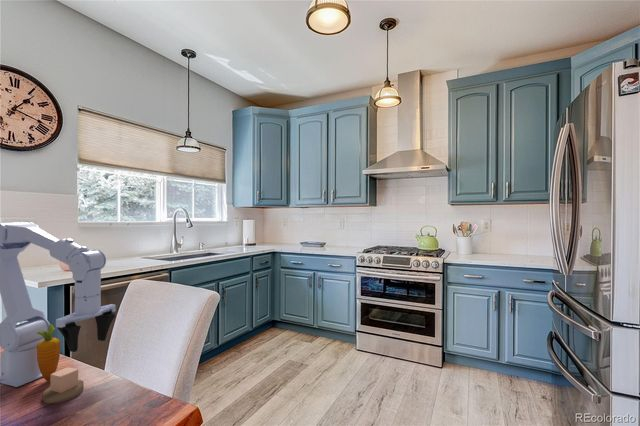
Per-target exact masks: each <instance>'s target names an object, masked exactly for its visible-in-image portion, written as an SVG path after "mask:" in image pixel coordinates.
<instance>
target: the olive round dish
mask: <svg viewBox="0 0 640 426" xmlns="http://www.w3.org/2000/svg"><path fill="white" fill-rule="evenodd" d="M84 384H85V383H84V380H82V379H78V385H77V386H75V387H73V388H71V389H69V390H67V391H64V392H62V393H59V392H55V391H52V390H51V385H50V386H48V387H47V388H45V390H43V392H42V401H43V403H45V404H57V403H62V402H66V401H69V400H71V399H73V398H75V397H77V396H79V395H80V394H82V392H83V391H84Z"/></svg>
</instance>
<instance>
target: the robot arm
mask: <svg viewBox="0 0 640 426" xmlns="http://www.w3.org/2000/svg"><path fill="white" fill-rule="evenodd" d="M39 225H40V224H36V223H34V222H32V221H7V222H6V221H3V222H2V221H1V222H0V297H1V301H2V305H3V307H4V310H5V311H4V312H5V313H6V317H4V319H3V320H2V321H1V322H0V347H1V349H2V350H3V351H2V353H1V354H0V384H4V385H7V386H12V387H13V388H14V387H15V388H18V387H21V386H22V385H25V384H27V383H30V382H33V381H35V380H37V379H40V378H44V377H43V376H42V374H41V372H40V369H39V366H38V361H37V344H38V343H39V342H40V341H42V340H44V337H43V336H42V335H40V334H37V332H38V331H40V332H43V331H44V330H46V332H47V334H48V332H49V325H51V323H50V322H49V320H48V319H47V318H46V316H45V314H44V312H43V311H41V310H39V309H36V308H34V307H33V304H32V301H31V298H30V295H29V292H28V289H27V285H26V282H25V278H24V275H23V271H22V269H21V265H20V263H19V259H18V256H19V254H20V253H21V252H22V253H23V252H24V251H25V249H27V248H28V247H29V246H30V245H31V244H33V245H35V246H38V247H40V248H42V249H45V250H47V251H49V255H50V257H51V258H54V259H55V260H57V261H59V262H61V263H63V264H65V265H67V266H68V268H69V270H70V272H71V273H72V279H73V281H74V312H72V313H70V314H68V315H65V316H63V317H60V318H56V319H55V327H56V328H57V329H58V331H59V332H60V333H61V335H62V337H63V338H64V340H65V343H66V345H67V349H68V351H69V352H70V353H71V352H72V353H75V352H78V348H79V335H80V334H79V333H80V330H81V327H82V326H81V325H77V323H78V322H82V321H86V320H89V319H93V318H94V319H95V323H96V328H97V329H96V330H97V332H96V333H97V335H96V336H97V340H98V341H101V342H104V341H106V339H107V335H108V333H109V332H108V331H109V329H110V327H111V324H112V323H113V320H114V319H115V318H116V314H115V313H114V312H116V311H117V310H116V309H117V308H116V304H113V303H111V304H106V305H102V302H101V301H102V300H101V299H102V297H101V296H102V295H101V294H102V293H101V292H102V291H101V289H102V287H101V286H102V277H101V276H102V275H101V272H102V271H101V270H102V269H104V267H105V266H106V264H107V263H106V262H107V258H106V255H105V254H104V253H103V251H101V250H100V249H92V250H90V249H88V247H87V246H85V245H83V246H82V245H80V244H78V243H76V242H74V241H75V240H74V239H72V238H61V239H58V238H57V237H55V236H53V235H52V234H50V233H49V232H46V231H45V230H44V229H41V228H40V226H39ZM101 305H102V306H101ZM18 323H19V324H18Z"/></svg>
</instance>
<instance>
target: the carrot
mask: <svg viewBox="0 0 640 426" xmlns="http://www.w3.org/2000/svg"><path fill="white" fill-rule="evenodd" d="M55 330H56V328H55V327H54V324H50V325H49V332H48V334H47V332H46V330H44V331H43V332H40V331H38V332H37V334H40V335H42V336H43V337H44V340H42V341H40V342H39V343H38V344H37V361H38V366H39V369H40V372H41V374H42V376H43V377H42V378H44V380H45V381H46V382H51V374H52V373H55V372H57V369H58V365H59V362H60V361H59V360H60V355H61V341H60V339H59V338H57V337H53V334H54V332H55Z"/></svg>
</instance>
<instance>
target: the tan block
mask: <svg viewBox="0 0 640 426" xmlns="http://www.w3.org/2000/svg"><path fill="white" fill-rule="evenodd" d="M78 380H79V369H78V368H74V367H69V366H68V367H65V368H62V369H60V370H58V371H57V370H56V371H55V373H52V374H51V380H50V386H51V390H52V391H55V392H59V393H62V392H64V391H67V390H69V389H71V388H73V387H75V386H77V385H78Z"/></svg>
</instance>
